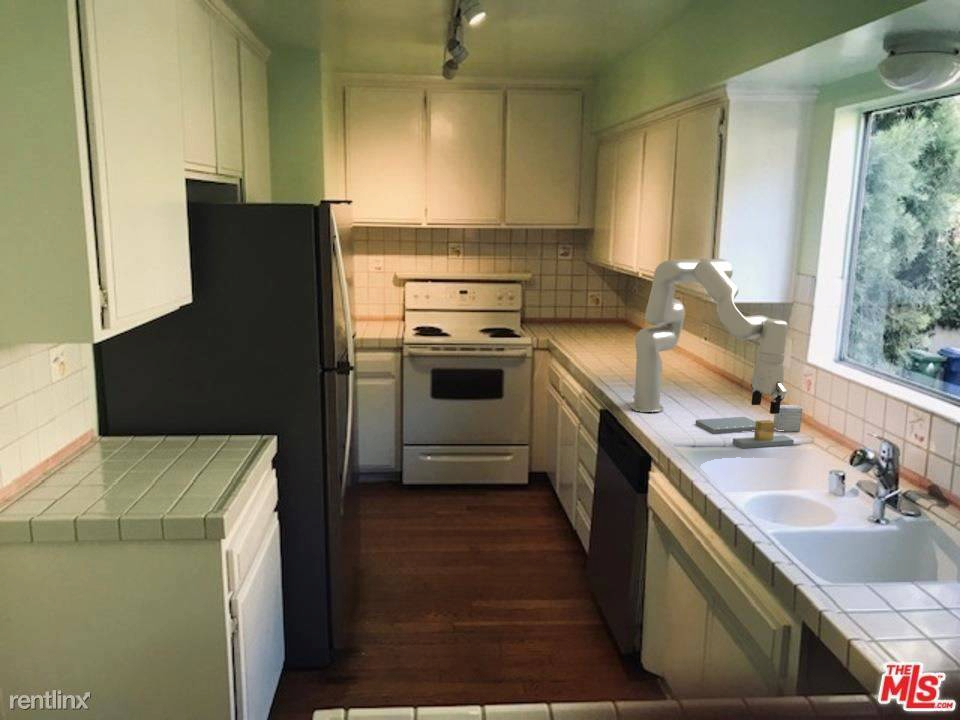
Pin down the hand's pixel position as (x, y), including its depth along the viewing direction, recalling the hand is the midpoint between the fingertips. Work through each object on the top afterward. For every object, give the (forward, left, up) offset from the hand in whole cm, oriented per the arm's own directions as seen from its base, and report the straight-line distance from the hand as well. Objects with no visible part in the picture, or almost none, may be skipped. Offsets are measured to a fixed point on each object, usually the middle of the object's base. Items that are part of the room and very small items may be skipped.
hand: (764, 409), depth 241 cm
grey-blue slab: (+1, 0, -12) cm, 12 cm away
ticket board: (-19, 0, -12) cm, 22 cm away
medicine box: (-12, +18, -12) cm, 25 cm away
